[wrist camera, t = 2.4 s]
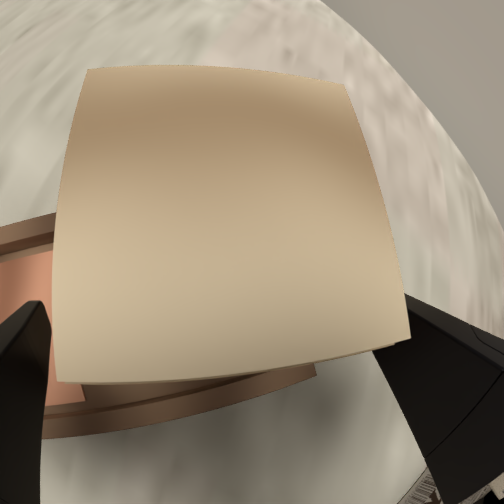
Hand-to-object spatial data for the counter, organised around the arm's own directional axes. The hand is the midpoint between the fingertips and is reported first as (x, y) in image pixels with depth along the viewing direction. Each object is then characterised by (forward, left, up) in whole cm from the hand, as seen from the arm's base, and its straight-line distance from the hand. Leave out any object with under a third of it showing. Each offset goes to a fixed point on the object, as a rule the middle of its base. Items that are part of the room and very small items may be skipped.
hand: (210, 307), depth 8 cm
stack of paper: (+1, +1, -8) cm, 8 cm away
